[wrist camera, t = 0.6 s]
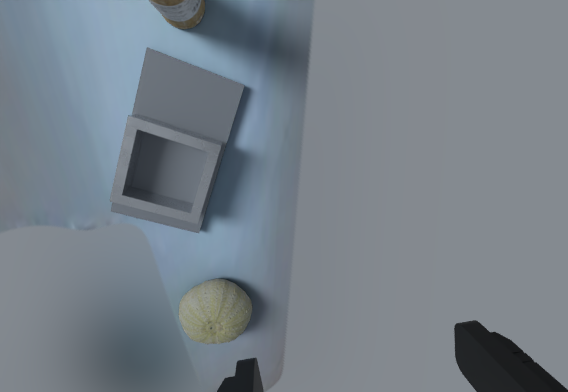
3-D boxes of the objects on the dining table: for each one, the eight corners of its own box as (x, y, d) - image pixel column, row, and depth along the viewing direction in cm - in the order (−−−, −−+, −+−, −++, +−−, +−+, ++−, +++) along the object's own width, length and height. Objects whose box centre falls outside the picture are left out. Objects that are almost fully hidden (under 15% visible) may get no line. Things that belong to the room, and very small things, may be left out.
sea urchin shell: (240, 348, 42) (197, 375, 35) (206, 310, 46) (160, 328, 39) (268, 296, 40) (228, 314, 33) (230, 261, 44) (186, 270, 37)
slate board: (113, 208, 35) (110, 211, 34) (149, 48, 30) (146, 47, 29) (199, 229, 37) (198, 233, 36) (244, 85, 33) (244, 85, 32)
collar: (119, 192, 33) (109, 201, 31) (137, 113, 31) (128, 115, 28) (200, 213, 36) (197, 224, 33) (222, 141, 33) (221, 146, 31)
